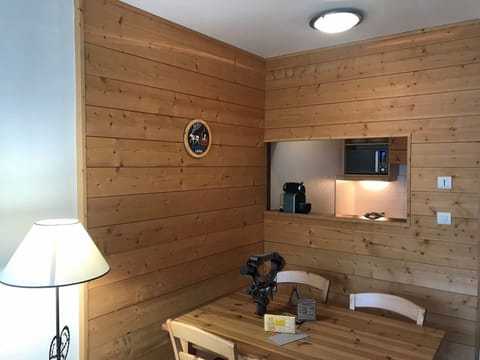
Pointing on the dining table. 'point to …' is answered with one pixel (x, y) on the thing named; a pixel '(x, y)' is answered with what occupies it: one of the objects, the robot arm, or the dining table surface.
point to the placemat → (288, 337)
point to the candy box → (279, 324)
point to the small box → (306, 309)
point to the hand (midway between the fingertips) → (267, 301)
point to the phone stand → (293, 295)
